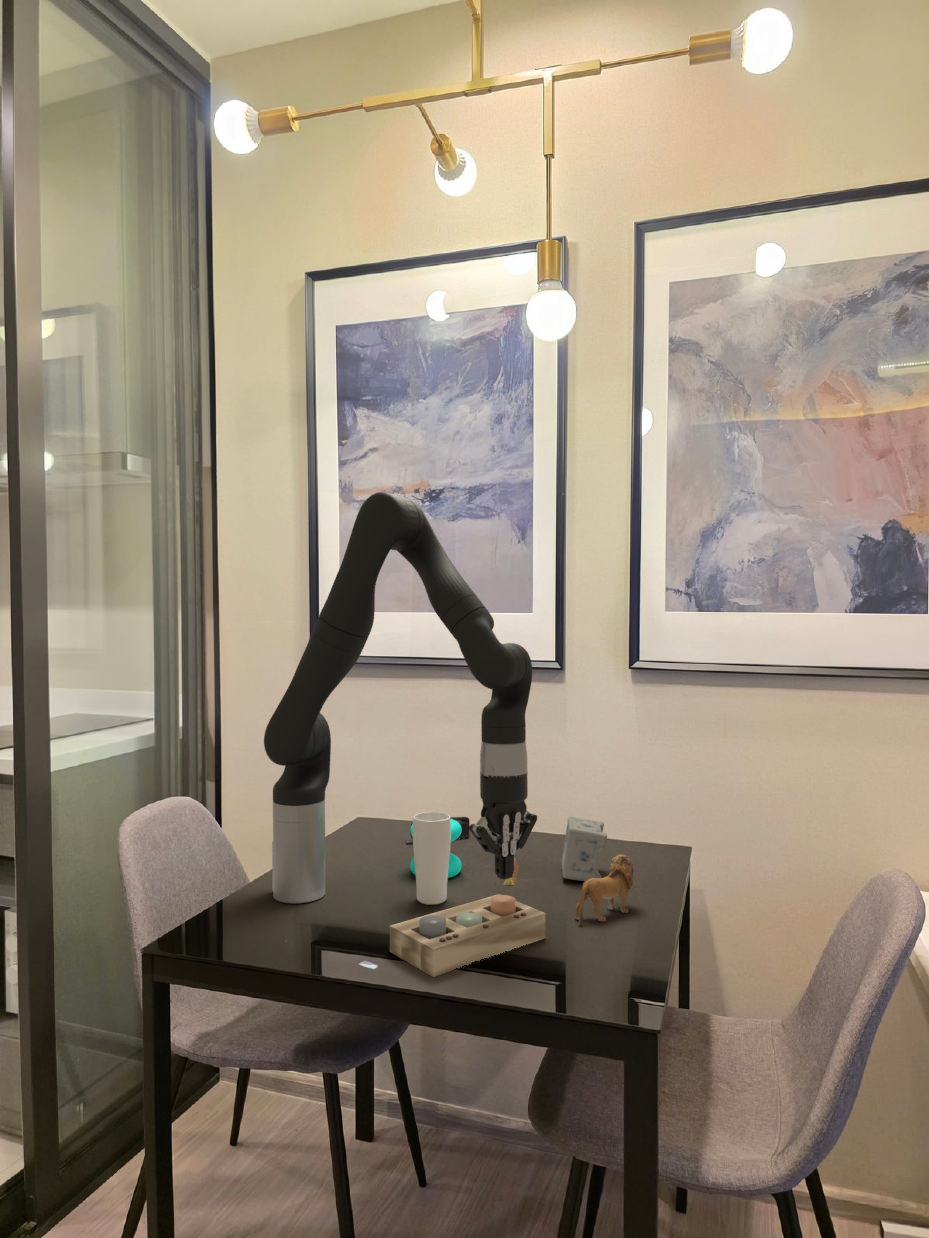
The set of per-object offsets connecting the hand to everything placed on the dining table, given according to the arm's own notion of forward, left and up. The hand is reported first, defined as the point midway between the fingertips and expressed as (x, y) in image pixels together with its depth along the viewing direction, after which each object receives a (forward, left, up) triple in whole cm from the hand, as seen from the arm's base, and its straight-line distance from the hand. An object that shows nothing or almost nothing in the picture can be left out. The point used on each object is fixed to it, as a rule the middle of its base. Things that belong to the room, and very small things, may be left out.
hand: (504, 877), depth 136 cm
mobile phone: (-48, +23, -9) cm, 55 cm away
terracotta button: (0, 0, -6) cm, 7 cm away
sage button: (0, -7, -8) cm, 11 cm away
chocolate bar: (-21, +20, -10) cm, 31 cm away
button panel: (0, -7, -9) cm, 12 cm away
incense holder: (-12, +31, -9) cm, 34 cm away
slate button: (0, -14, -6) cm, 16 cm away
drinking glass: (-19, 0, -9) cm, 21 cm away
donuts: (-31, +9, -9) cm, 33 cm away
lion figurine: (+4, +19, -9) cm, 22 cm away
